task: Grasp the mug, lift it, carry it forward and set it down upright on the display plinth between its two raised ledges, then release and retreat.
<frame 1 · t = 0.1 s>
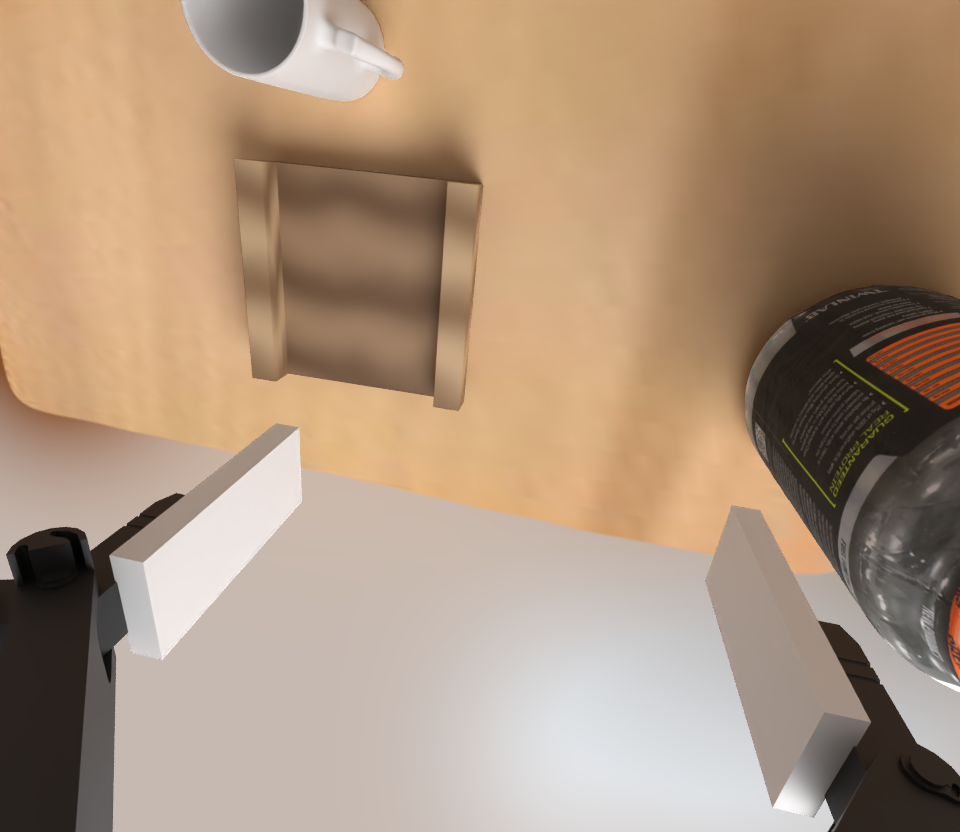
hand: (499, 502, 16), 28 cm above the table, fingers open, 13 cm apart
supplement tub: (851, 385, 40), on the table
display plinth: (374, 281, 43), on the table
mug: (364, 60, 37), on the table
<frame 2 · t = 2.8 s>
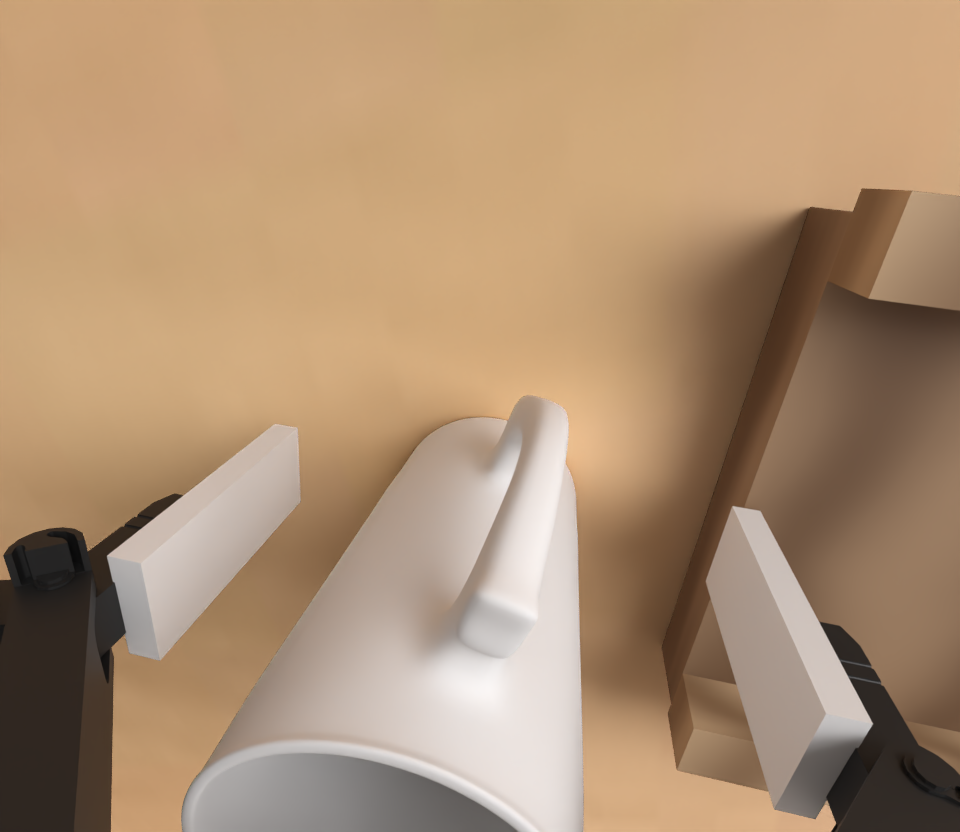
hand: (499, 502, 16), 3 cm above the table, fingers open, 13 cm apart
mug: (506, 455, 19), on the table
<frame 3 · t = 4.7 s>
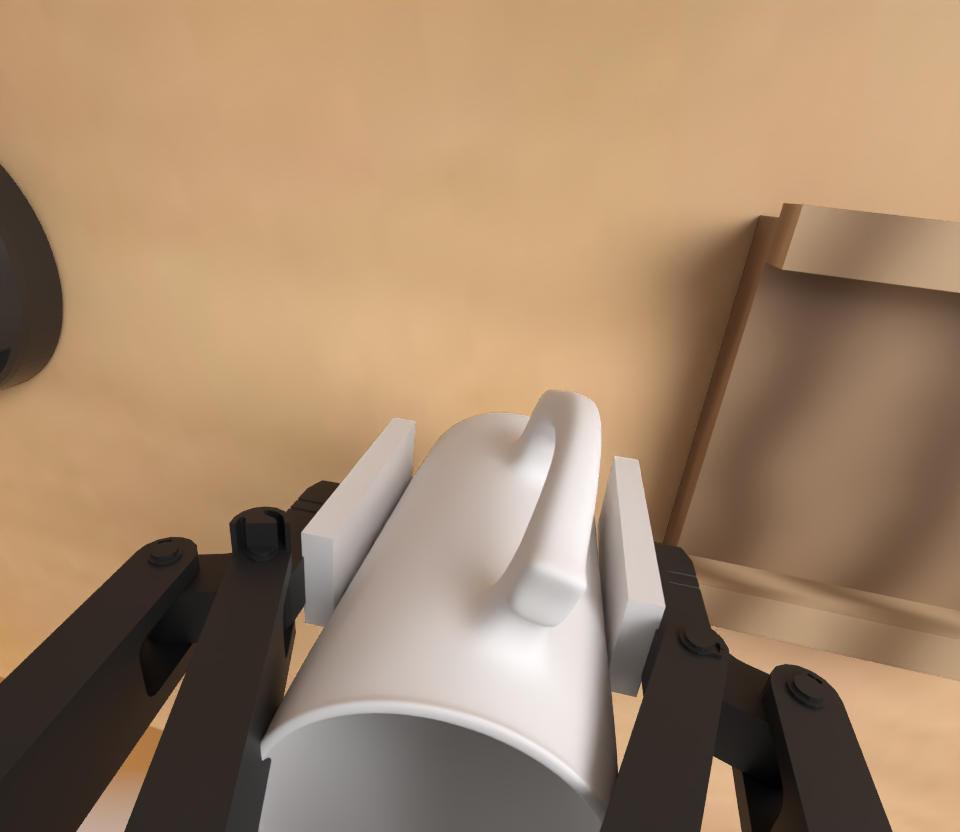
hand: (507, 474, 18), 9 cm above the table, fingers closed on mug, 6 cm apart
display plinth: (896, 434, 23), on the table
mug: (523, 449, 20), point 7 cm above the table, touching gripper
when the fingers open (4 cm above the table, at t = 9.1 s): mug stays where it is, resting on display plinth.
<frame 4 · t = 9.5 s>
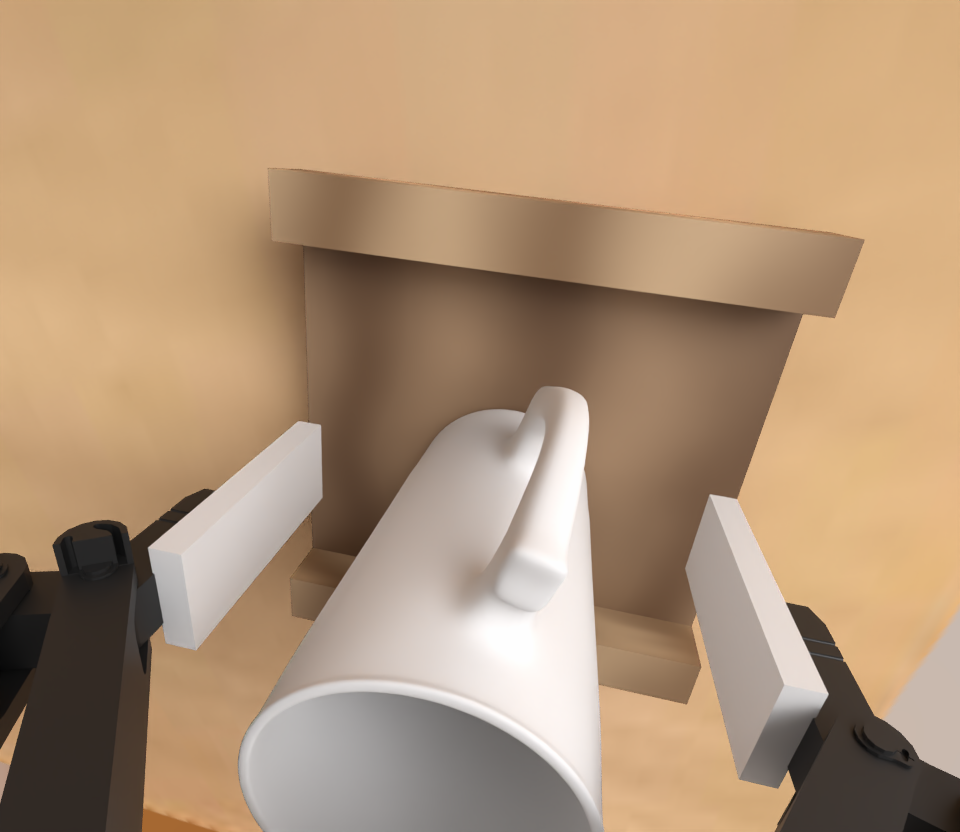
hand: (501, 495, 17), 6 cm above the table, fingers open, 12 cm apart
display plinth: (521, 420, 22), on the table
mug: (520, 446, 20), point 2 cm above the table, touching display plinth
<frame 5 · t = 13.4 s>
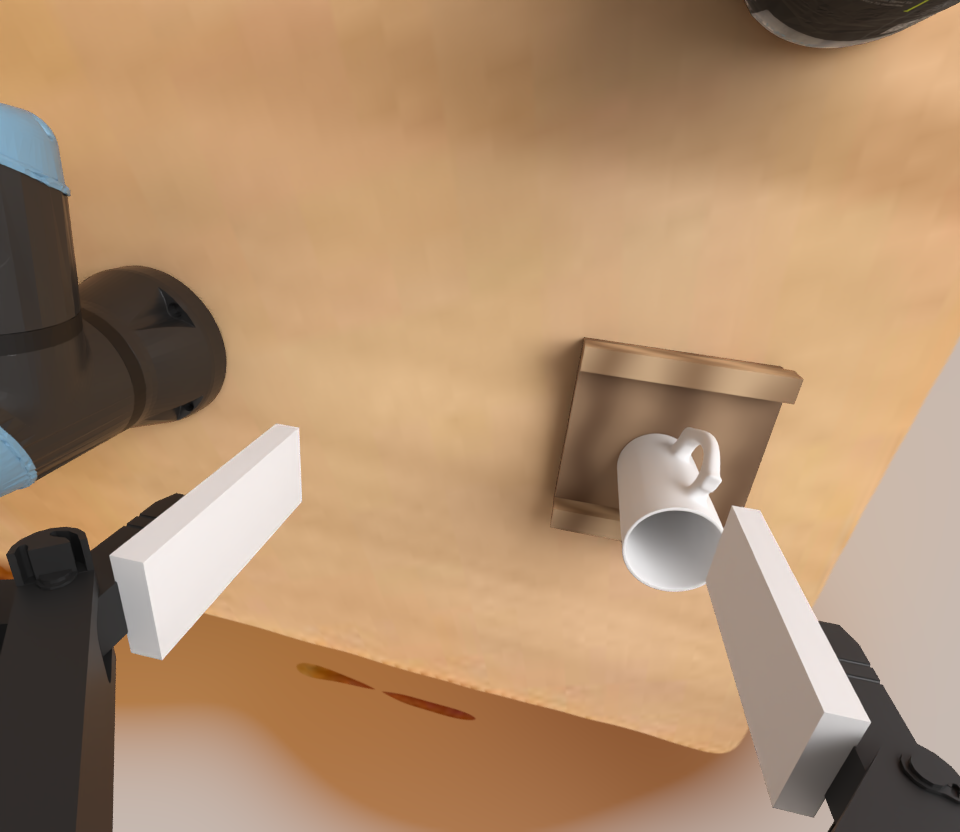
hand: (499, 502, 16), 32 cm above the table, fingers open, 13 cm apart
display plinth: (657, 437, 48), on the table
mug: (663, 449, 46), point 2 cm above the table, touching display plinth
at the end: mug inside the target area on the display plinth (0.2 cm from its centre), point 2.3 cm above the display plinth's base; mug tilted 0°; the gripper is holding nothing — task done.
